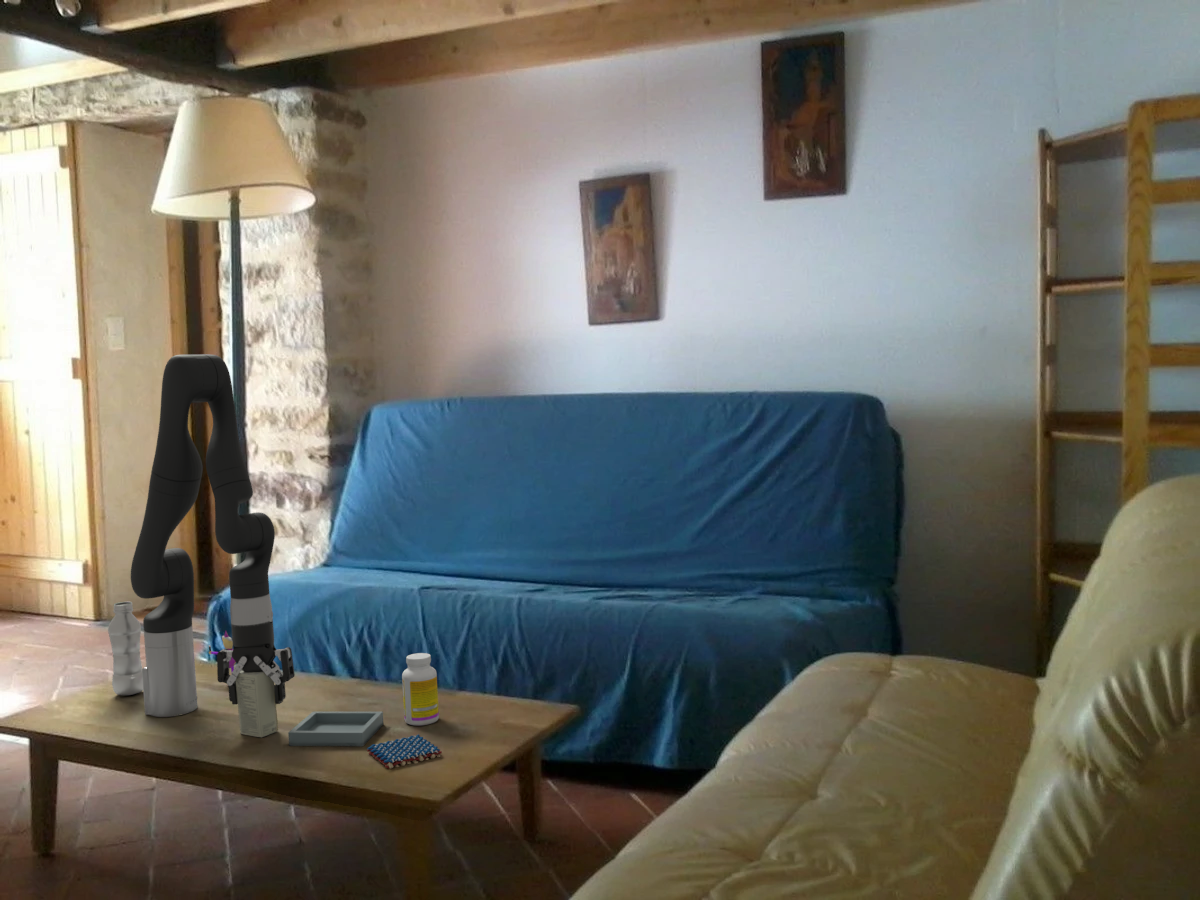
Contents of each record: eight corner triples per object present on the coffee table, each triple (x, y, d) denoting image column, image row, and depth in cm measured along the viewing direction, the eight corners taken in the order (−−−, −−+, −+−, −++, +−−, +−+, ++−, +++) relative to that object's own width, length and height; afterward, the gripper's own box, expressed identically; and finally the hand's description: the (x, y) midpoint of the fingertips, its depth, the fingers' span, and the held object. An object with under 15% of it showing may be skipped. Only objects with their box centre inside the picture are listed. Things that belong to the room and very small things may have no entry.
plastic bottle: (138, 698, 230) (132, 606, 229) (107, 699, 230) (100, 607, 229) (151, 689, 237) (145, 599, 235) (120, 690, 237) (114, 600, 235)
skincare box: (279, 731, 206) (275, 669, 205) (260, 738, 202) (257, 675, 201) (256, 726, 209) (252, 665, 208) (237, 733, 205) (233, 671, 204)
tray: (289, 745, 197) (288, 732, 197) (313, 724, 209) (313, 711, 209) (362, 746, 196) (362, 732, 195) (383, 724, 208) (382, 711, 207)
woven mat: (444, 759, 189) (444, 747, 189) (387, 773, 183) (386, 761, 183) (420, 742, 198) (420, 732, 198) (365, 755, 192) (364, 744, 192)
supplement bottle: (446, 720, 209) (443, 655, 208) (418, 729, 204) (415, 662, 203) (424, 713, 213) (421, 649, 212) (397, 722, 209) (394, 657, 208)
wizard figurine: (254, 683, 239) (251, 630, 238) (244, 687, 236) (241, 633, 235) (215, 679, 243) (211, 626, 242) (205, 683, 240) (201, 630, 239)
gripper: (206, 624, 201) (213, 709, 202) (279, 622, 199) (285, 708, 200) (225, 615, 208) (231, 697, 209) (295, 613, 206) (301, 696, 207)
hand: (258, 703), depth 205 cm, fingers open, 8 cm apart
